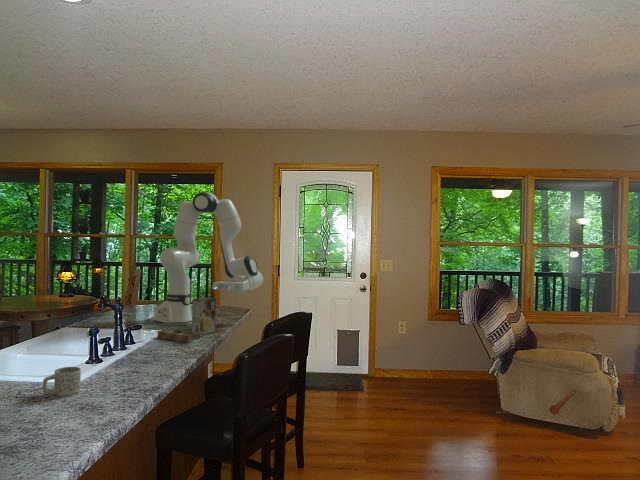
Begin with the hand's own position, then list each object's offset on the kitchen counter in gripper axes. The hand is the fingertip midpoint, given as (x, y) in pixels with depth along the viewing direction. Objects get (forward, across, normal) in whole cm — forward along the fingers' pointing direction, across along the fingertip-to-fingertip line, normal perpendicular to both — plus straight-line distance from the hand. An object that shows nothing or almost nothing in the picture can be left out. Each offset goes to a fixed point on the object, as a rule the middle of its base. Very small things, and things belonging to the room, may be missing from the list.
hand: (219, 287), depth 234 cm
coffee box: (+13, 0, +20) cm, 23 cm away
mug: (+97, +32, +15) cm, 104 cm away
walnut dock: (+26, +1, +18) cm, 32 cm away
